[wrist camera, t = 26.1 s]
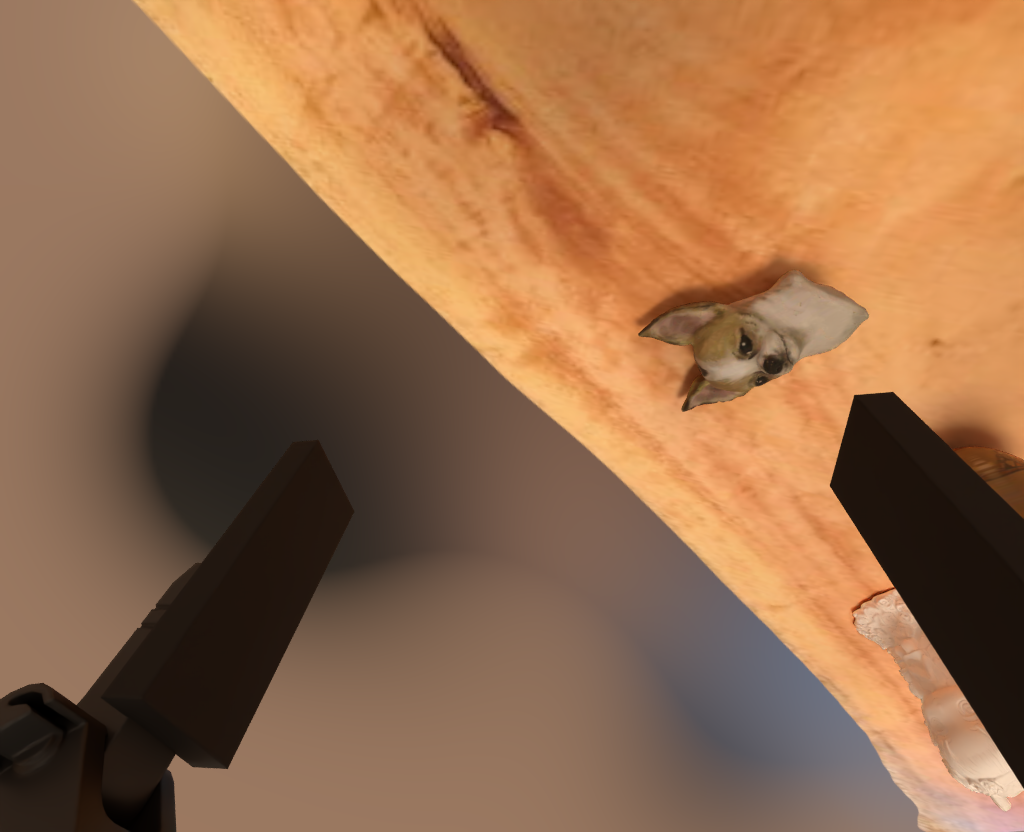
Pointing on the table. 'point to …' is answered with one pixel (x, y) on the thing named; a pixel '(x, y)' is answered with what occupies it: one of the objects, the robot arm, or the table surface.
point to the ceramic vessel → (998, 472)
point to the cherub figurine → (939, 699)
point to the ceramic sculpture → (757, 335)
